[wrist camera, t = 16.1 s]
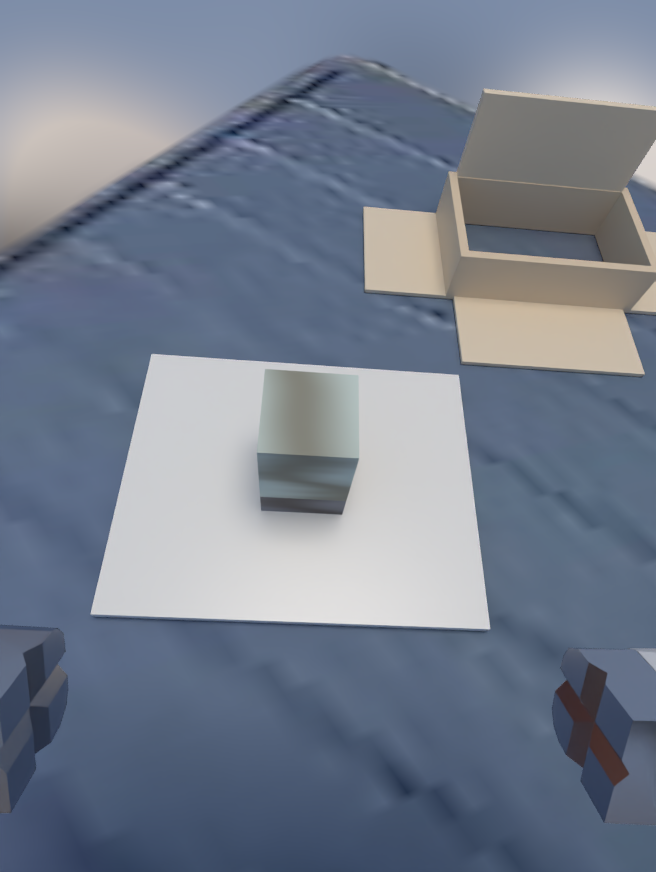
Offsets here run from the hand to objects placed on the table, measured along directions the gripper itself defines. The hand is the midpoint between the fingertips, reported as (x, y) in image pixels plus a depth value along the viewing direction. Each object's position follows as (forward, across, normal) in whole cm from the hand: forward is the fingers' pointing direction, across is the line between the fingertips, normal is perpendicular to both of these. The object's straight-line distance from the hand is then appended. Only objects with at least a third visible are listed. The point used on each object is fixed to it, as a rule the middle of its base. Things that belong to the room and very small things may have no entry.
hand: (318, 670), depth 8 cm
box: (+21, 0, +4) cm, 22 cm away
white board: (+22, 0, +5) cm, 22 cm away
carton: (+34, -17, -7) cm, 38 cm away
